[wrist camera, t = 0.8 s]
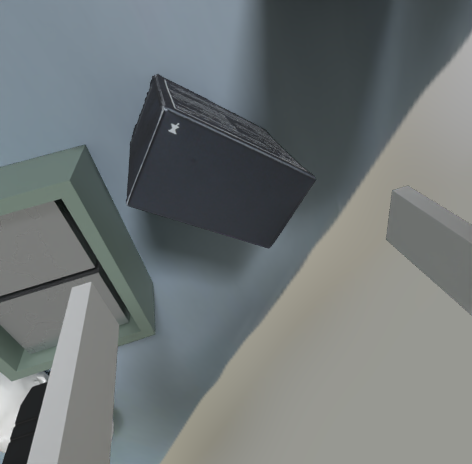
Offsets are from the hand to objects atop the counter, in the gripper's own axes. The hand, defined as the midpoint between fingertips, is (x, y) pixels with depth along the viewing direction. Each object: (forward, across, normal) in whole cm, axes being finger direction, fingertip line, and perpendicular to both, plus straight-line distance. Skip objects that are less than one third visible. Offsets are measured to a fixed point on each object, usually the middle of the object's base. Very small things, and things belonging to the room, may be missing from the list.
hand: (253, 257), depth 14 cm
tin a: (+16, -15, -3) cm, 22 cm away
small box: (+17, 0, 0) cm, 17 cm away
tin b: (+16, -15, -10) cm, 24 cm away
